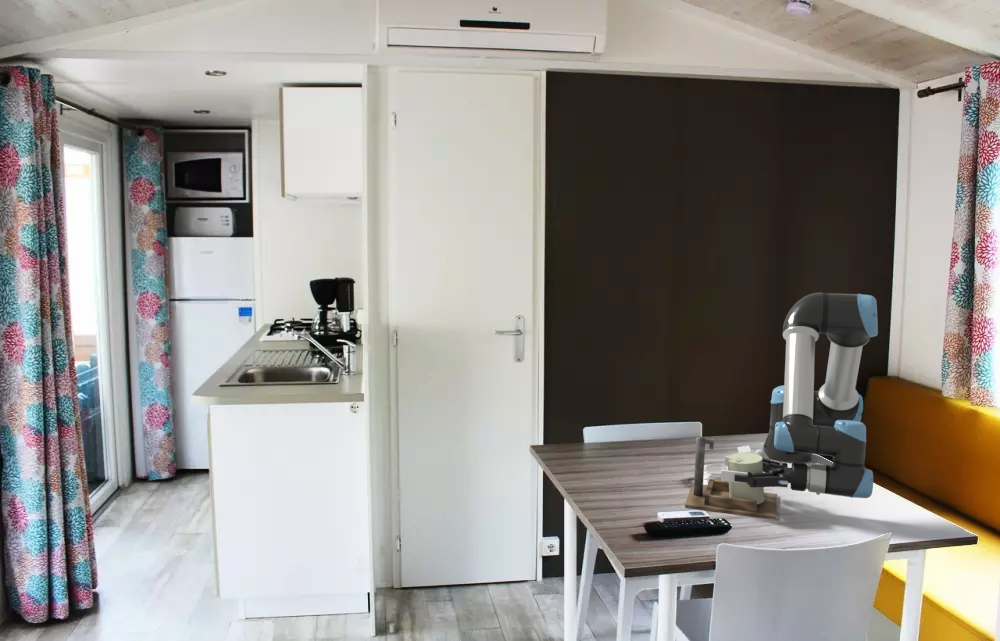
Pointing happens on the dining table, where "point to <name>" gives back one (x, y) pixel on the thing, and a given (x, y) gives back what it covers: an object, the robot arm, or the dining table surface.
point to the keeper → (723, 492)
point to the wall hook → (747, 450)
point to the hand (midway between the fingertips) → (722, 467)
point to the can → (747, 464)
